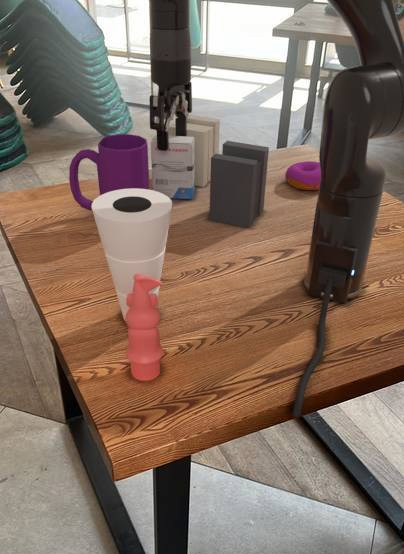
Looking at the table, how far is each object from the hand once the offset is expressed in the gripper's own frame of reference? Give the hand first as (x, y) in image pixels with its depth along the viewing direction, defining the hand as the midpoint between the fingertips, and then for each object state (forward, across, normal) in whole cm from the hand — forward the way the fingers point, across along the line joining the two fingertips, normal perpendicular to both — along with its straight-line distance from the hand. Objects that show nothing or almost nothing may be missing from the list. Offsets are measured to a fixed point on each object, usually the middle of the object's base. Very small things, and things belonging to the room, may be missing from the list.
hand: (172, 143), depth 116 cm
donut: (+11, +18, -25) cm, 33 cm away
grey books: (+11, -4, -16) cm, 20 cm away
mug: (+11, -15, +6) cm, 20 cm away
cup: (+11, -43, -15) cm, 47 cm away
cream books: (+11, +11, 0) cm, 15 cm away
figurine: (+11, -54, -22) cm, 60 cm away
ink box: (+11, 0, 0) cm, 11 cm away
